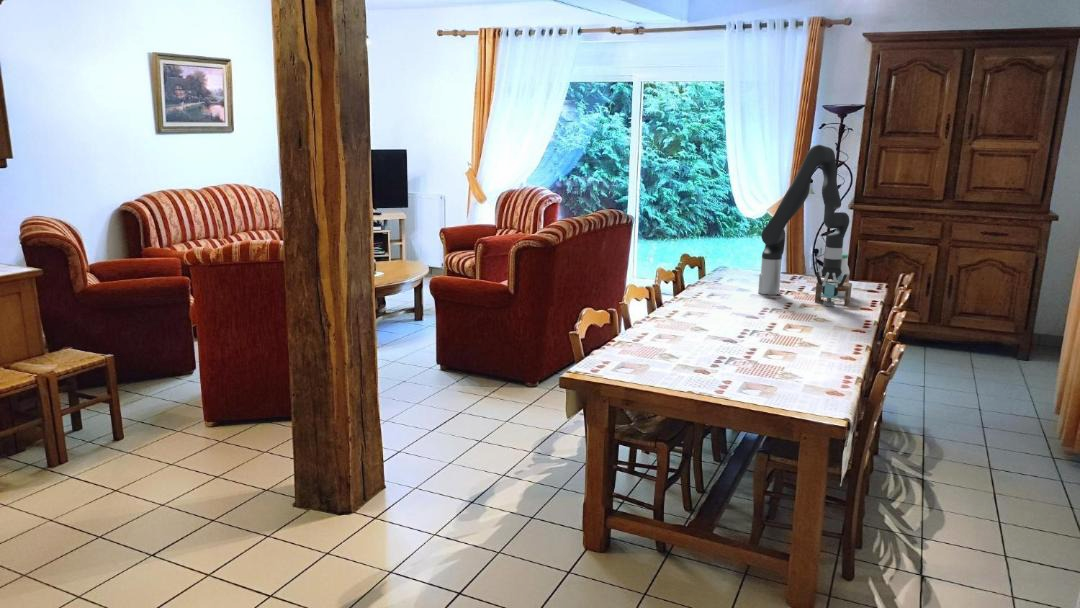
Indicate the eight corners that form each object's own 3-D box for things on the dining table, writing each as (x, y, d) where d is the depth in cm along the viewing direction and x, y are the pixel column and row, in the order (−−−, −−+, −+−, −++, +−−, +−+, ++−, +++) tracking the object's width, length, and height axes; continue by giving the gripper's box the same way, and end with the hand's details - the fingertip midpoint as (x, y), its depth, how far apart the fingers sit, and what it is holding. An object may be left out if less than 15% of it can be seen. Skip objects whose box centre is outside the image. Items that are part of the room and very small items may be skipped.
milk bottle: (829, 296, 368) (833, 254, 364) (831, 293, 375) (835, 252, 370) (846, 297, 365) (850, 256, 360) (848, 294, 371) (852, 253, 367)
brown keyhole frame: (814, 302, 355) (816, 283, 353) (818, 298, 362) (820, 279, 360) (846, 305, 348) (848, 286, 346) (850, 302, 355) (851, 283, 353)
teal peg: (819, 305, 346) (821, 284, 344) (822, 302, 352) (824, 282, 350) (835, 307, 343) (837, 286, 341) (837, 304, 349) (839, 283, 346)
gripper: (851, 257, 342) (847, 295, 346) (818, 254, 349) (814, 291, 353) (848, 259, 336) (844, 298, 340) (814, 256, 343) (811, 294, 347)
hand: (829, 294), depth 346 cm, fingers closed on teal peg, 4 cm apart
